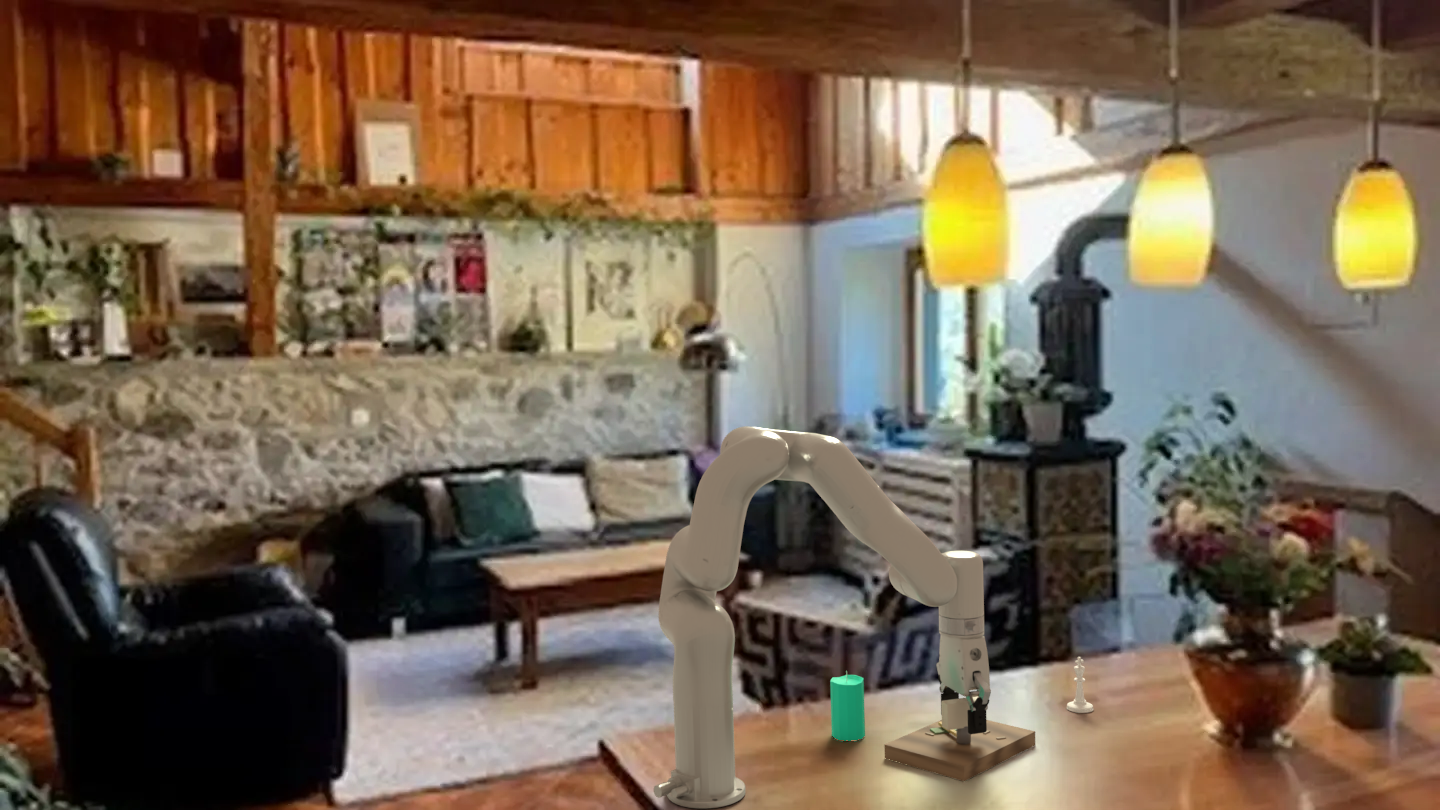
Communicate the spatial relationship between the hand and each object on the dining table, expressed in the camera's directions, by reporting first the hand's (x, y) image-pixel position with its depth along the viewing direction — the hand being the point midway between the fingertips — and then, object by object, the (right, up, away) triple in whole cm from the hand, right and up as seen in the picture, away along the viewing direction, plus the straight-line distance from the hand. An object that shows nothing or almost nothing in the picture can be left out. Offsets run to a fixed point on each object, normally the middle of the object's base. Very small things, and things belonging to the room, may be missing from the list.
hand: (963, 723), depth 207 cm
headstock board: (0, -6, +3) cm, 7 cm away
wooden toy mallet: (-1, -3, +4) cm, 5 cm away
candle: (-18, -6, +13) cm, 23 cm away
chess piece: (+27, -4, +24) cm, 37 cm away
